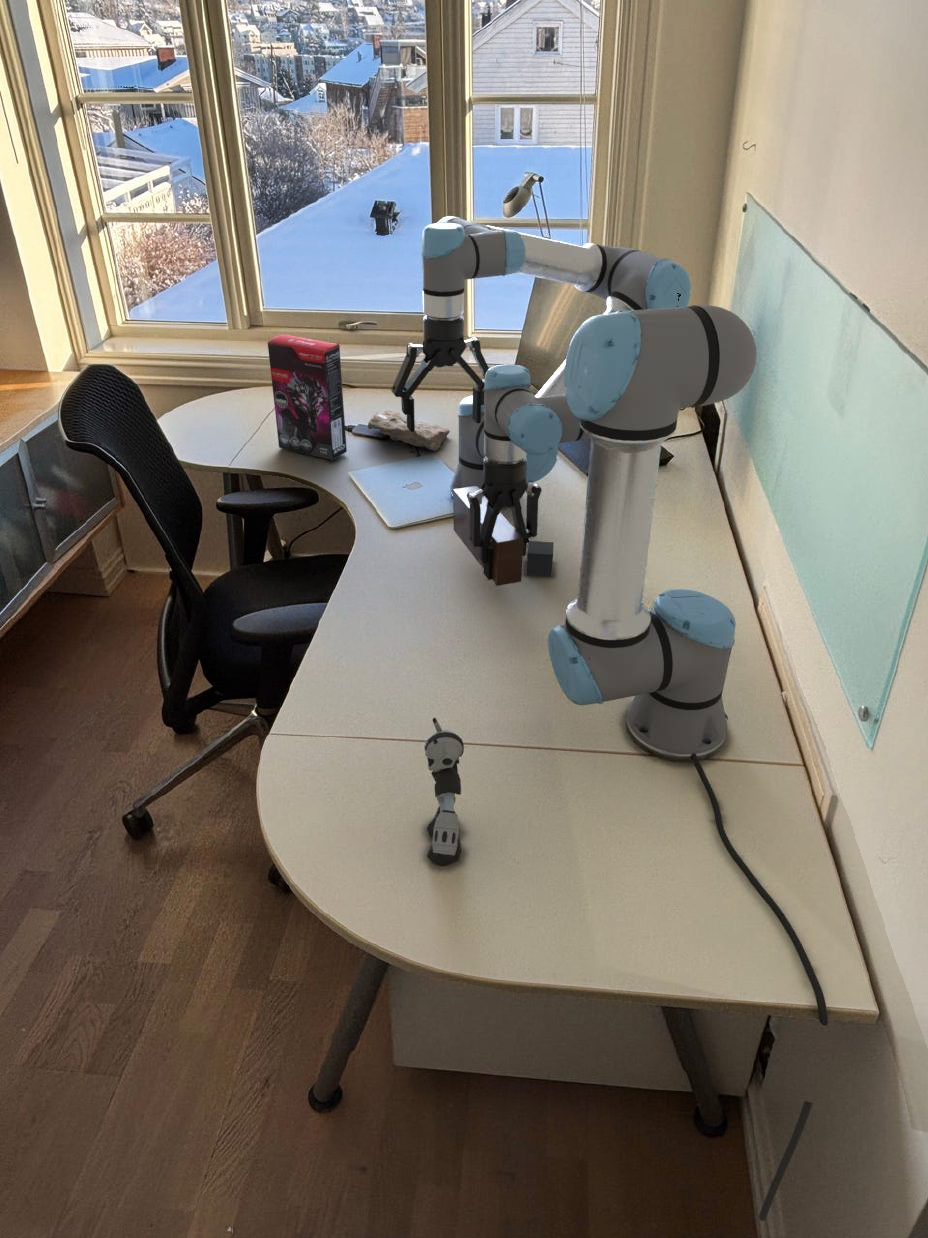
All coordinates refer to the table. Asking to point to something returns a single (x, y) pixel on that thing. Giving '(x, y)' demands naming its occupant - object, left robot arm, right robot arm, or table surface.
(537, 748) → the table surface
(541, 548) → the grey rubber block
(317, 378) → the graphics card box
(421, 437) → the stone
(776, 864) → the table surface
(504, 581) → the walnut beam
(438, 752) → the robot
